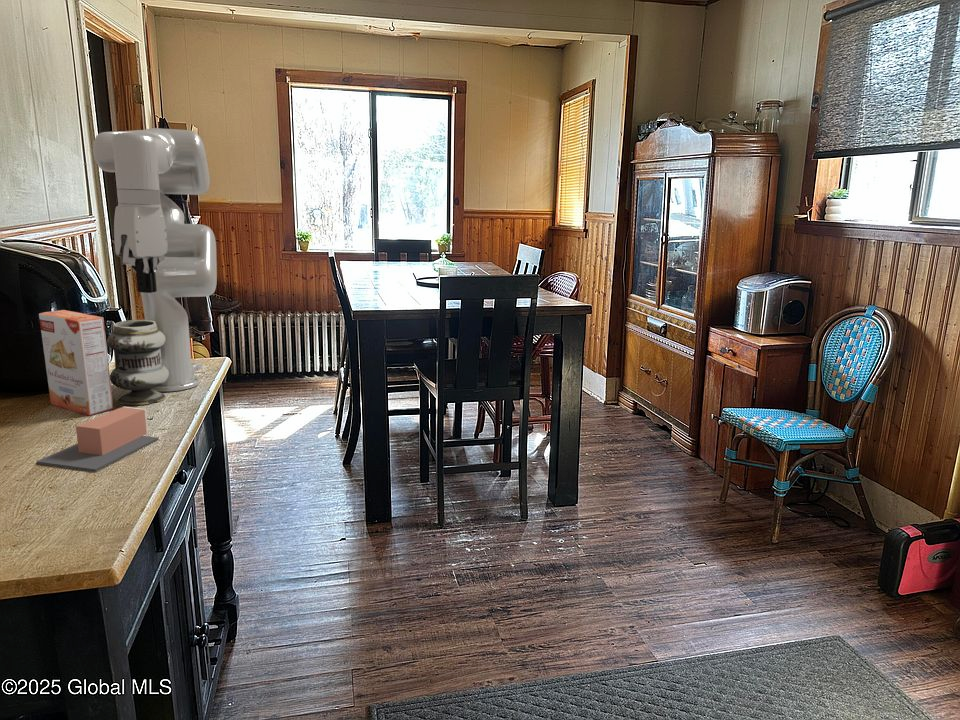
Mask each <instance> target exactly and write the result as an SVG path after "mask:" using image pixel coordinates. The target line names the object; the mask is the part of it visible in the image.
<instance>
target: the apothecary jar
mask: <svg viewBox="0 0 960 720" xmlns="http://www.w3.org/2000/svg"><path fill="white" fill-rule="evenodd" d="M164 343H165V336H164V334H163V333H162V332H160V331H159V330H158V328H157V325H156V322H154V321H150V320H145V319H129V320H123V321H122V320H121V321H119V322H116V323H115V324H113V331H112V333H111V334H109V335H108V337H107V339H106V345H107V347H108V348H109V349H111V350H113V354H114V355H113V356H114V365H115V366H114V369H112V370H111V371H110V382H111V385H113V386H115V387H116V388H118V389H122V390H125V391H129V392H127V393H125V394H123V395H121V396H119V397H118V398H117V401H116V402H117V403H119V404H120V405H125V406H144V405H145V406H146V405H150V404H152V403H159V402H161V401H163V400H165V398H166V395H165V394H164V392H159V391H154V390H151V389H152V388H155V387H157V386H160V385H161V384H163V383H164V382H165V381H166V380H167V379H168V376H169V372H168V370H167V368H166V367H164V366H163V365H162V360H161V350H160V347H161V346H162V345H163V344H164Z"/></svg>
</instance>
